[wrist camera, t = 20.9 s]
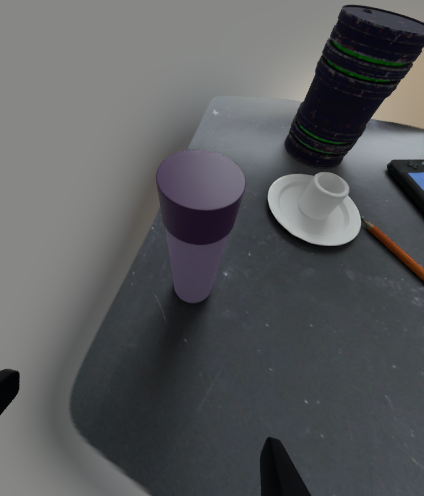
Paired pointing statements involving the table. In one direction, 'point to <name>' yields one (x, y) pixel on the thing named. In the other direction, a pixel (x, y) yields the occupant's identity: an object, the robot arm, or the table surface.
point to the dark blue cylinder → (352, 82)
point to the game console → (410, 178)
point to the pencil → (395, 249)
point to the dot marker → (198, 216)
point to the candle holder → (315, 208)
